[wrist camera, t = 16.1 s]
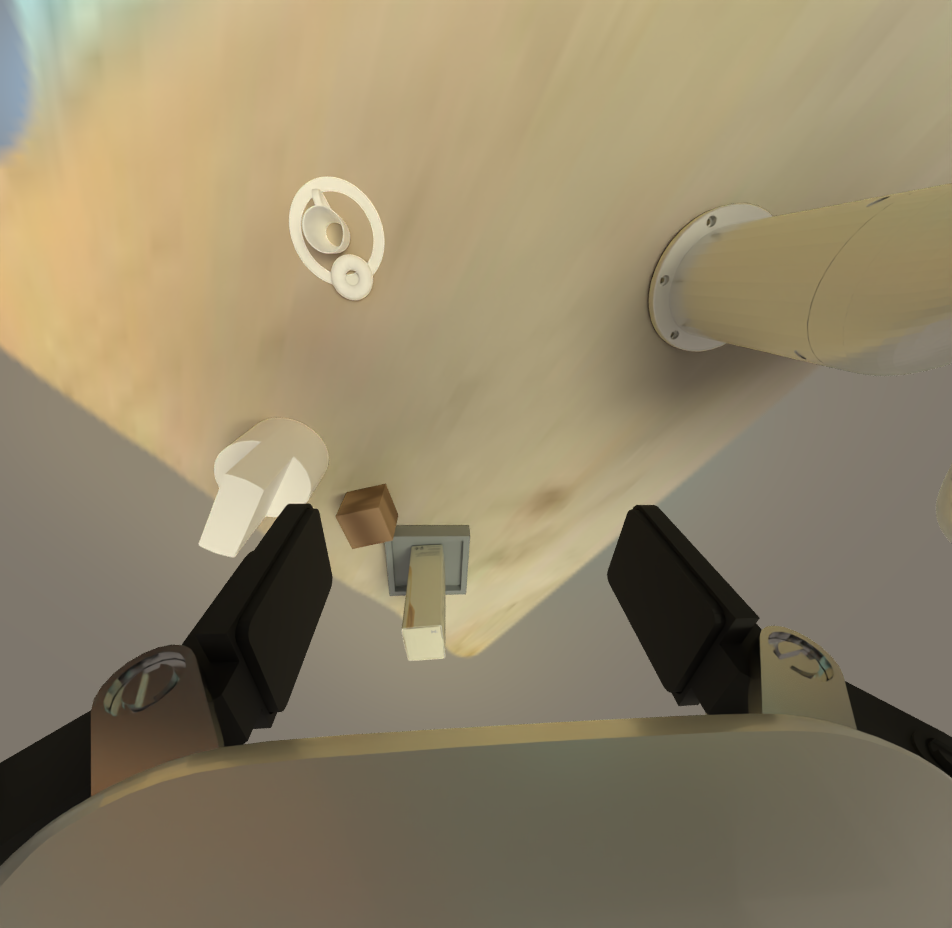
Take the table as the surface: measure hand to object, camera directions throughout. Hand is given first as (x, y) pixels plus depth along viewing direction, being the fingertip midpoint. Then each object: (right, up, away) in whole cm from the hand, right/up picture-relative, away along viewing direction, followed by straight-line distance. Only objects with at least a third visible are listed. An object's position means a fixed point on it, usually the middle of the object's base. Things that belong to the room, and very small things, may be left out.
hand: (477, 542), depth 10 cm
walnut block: (-13, -3, +33) cm, 36 cm away
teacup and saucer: (-14, +21, +21) cm, 33 cm away
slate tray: (-7, -11, +38) cm, 40 cm away
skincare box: (-7, -11, +37) cm, 39 cm away
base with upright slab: (-22, +4, +29) cm, 36 cm away
